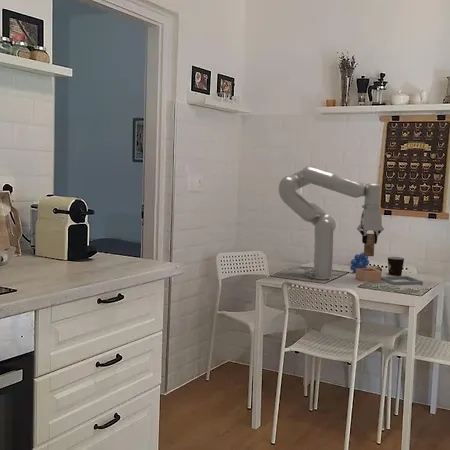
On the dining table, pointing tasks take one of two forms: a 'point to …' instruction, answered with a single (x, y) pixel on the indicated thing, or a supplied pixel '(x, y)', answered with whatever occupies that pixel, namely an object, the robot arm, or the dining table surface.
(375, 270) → the orange block with hole
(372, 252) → the tan upright block
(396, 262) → the coffee mug
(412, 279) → the tray
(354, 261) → the grapes
